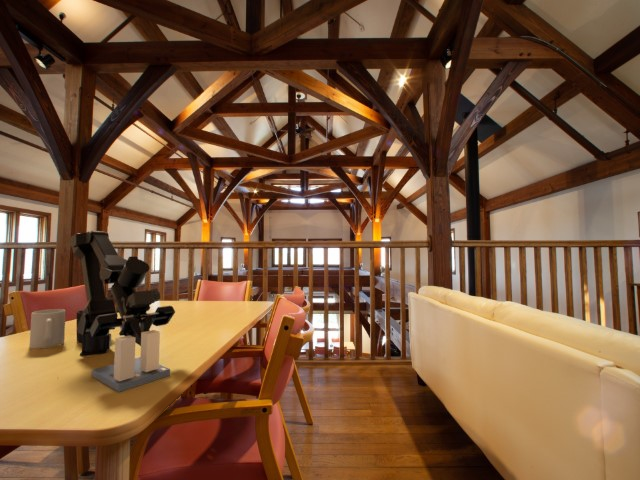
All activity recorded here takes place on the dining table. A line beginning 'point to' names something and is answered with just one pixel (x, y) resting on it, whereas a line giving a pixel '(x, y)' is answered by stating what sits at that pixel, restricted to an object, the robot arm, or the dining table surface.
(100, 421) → the dining table surface
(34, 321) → the mug
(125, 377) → the tab
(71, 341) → the dining table surface
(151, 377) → the grey base plate
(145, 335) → the tab
